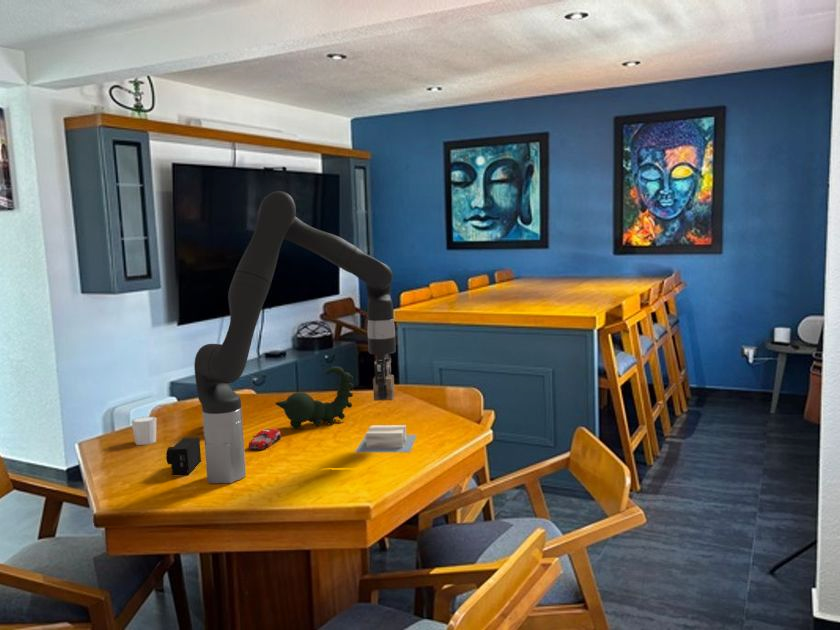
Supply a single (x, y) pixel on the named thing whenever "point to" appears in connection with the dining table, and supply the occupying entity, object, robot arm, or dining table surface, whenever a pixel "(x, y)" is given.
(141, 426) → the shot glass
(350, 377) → the toy figurine
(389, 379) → the walnut block
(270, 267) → the robot arm
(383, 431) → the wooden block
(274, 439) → the race car
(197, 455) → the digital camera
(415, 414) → the dining table surface
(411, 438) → the mat
